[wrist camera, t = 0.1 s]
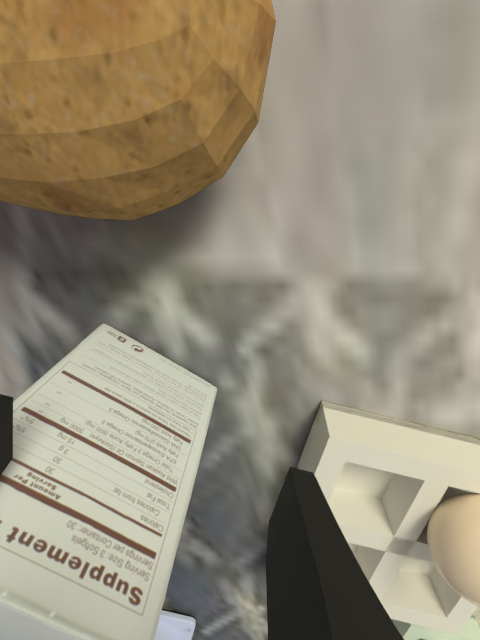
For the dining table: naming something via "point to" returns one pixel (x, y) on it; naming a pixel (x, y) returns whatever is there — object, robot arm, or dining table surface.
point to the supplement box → (98, 491)
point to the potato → (126, 100)
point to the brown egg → (457, 543)
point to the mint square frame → (437, 631)
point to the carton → (393, 503)
